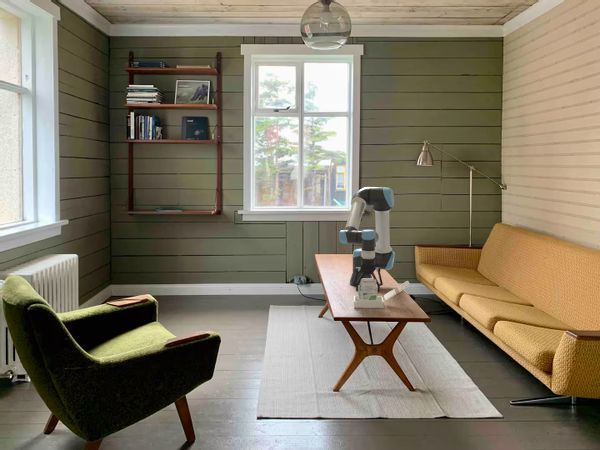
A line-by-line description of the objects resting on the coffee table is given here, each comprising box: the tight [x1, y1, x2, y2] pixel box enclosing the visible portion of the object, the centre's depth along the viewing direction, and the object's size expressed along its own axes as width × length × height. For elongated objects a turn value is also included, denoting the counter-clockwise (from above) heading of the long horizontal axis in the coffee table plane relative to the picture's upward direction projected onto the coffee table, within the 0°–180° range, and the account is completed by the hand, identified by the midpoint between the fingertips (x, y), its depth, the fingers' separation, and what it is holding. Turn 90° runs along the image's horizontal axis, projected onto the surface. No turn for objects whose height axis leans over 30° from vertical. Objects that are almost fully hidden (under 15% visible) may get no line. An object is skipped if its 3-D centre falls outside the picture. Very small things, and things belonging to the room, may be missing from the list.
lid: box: [383, 280, 411, 302], centre depth 346 cm, size 12×16×1 cm
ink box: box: [359, 277, 377, 300], centre depth 347 cm, size 8×5×12 cm, turn 101°
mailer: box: [353, 295, 385, 310], centre depth 348 cm, size 12×16×4 cm
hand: (367, 297), depth 348 cm, fingers closed on ink box, 9 cm apart
